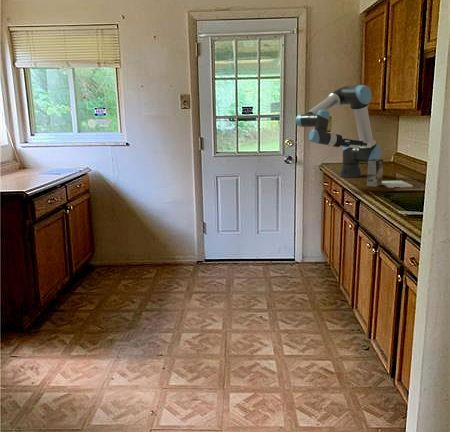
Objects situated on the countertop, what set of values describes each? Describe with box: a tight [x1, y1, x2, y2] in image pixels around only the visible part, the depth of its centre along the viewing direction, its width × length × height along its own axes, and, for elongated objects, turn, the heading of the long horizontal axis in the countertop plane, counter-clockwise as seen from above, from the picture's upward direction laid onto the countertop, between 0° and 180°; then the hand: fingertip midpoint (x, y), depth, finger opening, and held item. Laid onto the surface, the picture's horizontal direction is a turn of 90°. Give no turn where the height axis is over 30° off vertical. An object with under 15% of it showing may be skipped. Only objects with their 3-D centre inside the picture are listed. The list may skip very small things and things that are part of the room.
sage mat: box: [381, 180, 414, 189], centre depth 285 cm, size 19×14×1 cm
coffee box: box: [366, 158, 384, 188], centre depth 284 cm, size 9×6×16 cm
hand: (364, 146), depth 281 cm, fingers open, 13 cm apart
